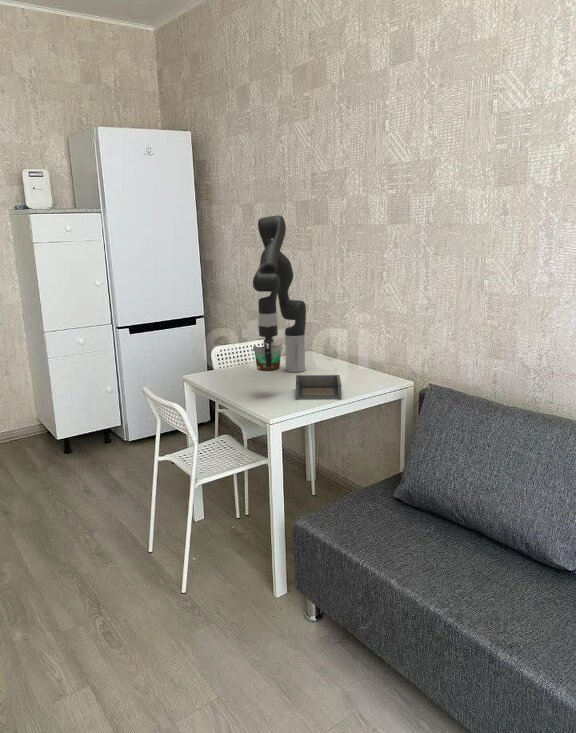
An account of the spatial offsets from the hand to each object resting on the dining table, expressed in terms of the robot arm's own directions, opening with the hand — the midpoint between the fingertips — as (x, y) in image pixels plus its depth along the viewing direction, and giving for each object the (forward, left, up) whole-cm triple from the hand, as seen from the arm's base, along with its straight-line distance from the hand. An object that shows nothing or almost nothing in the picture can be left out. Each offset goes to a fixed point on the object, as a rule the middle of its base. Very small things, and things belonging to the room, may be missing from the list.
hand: (269, 364), depth 244 cm
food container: (+1, 0, -2) cm, 2 cm away
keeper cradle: (0, +20, -12) cm, 23 cm away
